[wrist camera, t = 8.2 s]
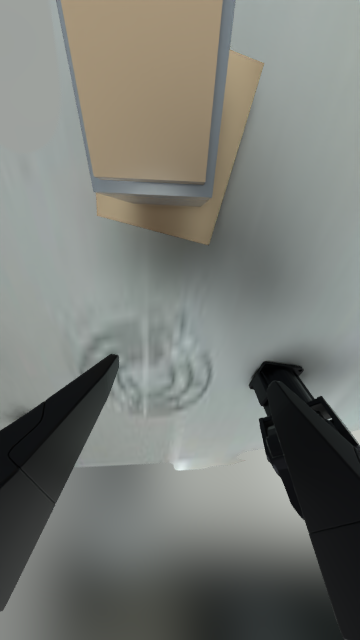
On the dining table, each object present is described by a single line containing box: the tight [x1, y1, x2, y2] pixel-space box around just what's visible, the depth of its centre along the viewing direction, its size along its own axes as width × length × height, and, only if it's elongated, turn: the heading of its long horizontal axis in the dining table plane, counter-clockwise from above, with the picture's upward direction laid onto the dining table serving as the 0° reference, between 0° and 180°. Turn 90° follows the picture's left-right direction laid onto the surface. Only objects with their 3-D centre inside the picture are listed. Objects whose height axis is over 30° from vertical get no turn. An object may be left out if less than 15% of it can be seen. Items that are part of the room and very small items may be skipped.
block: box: [96, 50, 264, 245], centre depth 12 cm, size 9×9×4 cm
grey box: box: [56, 0, 235, 207], centre depth 8 cm, size 5×5×7 cm
